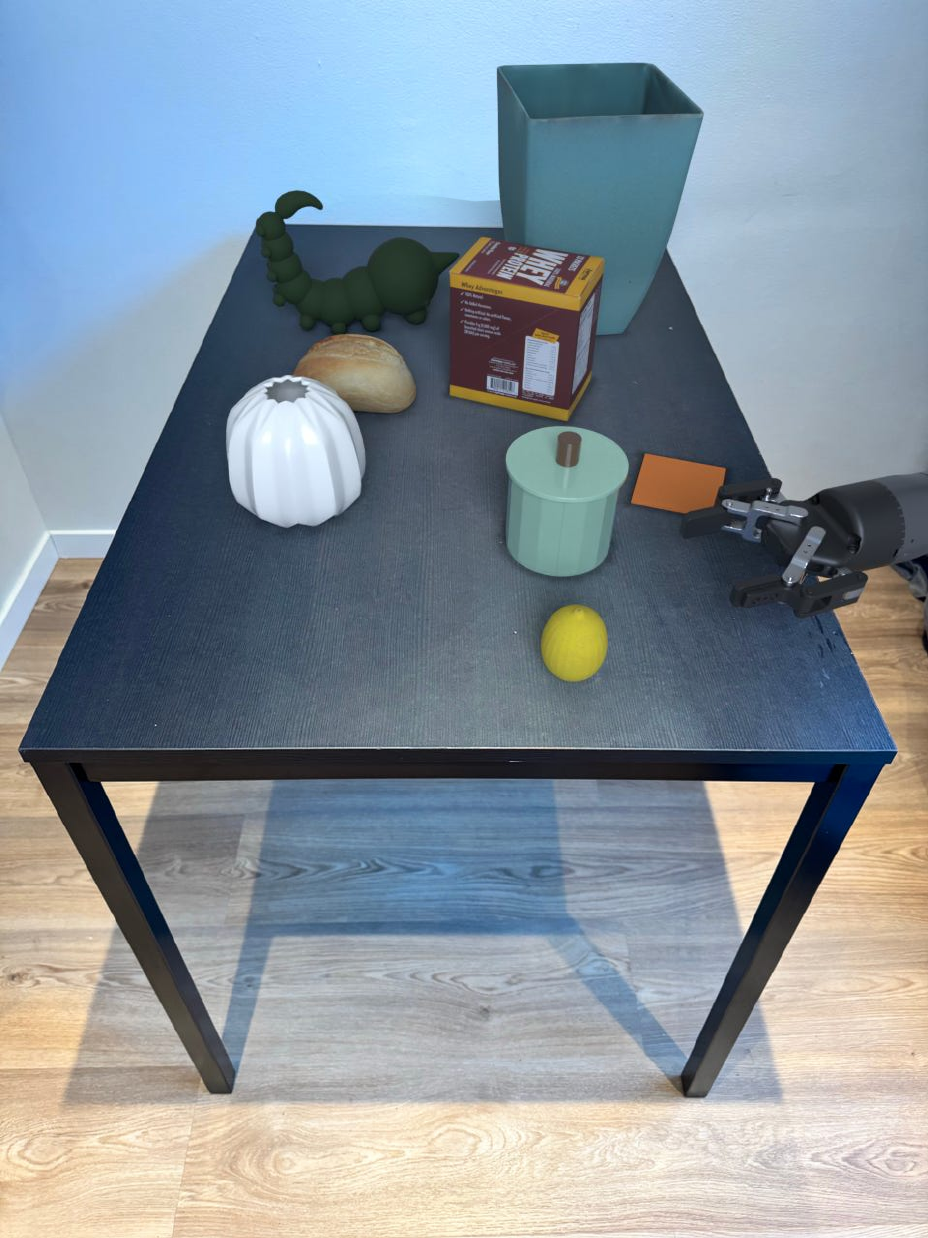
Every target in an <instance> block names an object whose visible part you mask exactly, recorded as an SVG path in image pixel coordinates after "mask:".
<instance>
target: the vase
mask: <svg viewBox="0 0 928 1238" xmlns="http://www.w3.org/2000/svg"><path fill="white" fill-rule="evenodd" d="M225 429H226V431H225V432H226V433H225V447H226V458H227V463H228V478H229V484H230V488H231V493H232V495H233V497H234V499H235V502H236V503H238V504H239V505H240V506H242V507H244V508H245V509H246V510H247V511H249V512H251V513H252V514H253V515H255V516H256V517H257V518H259V519H260V520H262V521H266V522H268V523H270V524H273V525H276V526H278V527H281V528H285V529H288V528H289V529H290V528H292V527H293V526H296V525H304V526H309V527H317V526H320V524H322V523H324V522H326V521H327V520H329V519H331V518H332V517H339V516H340V515H342V514H343V513H344V512H345V511H346V510H347V509H348V508H349V507H350V506H351V505H352V504H353V503H354V502H355V501H356V500H357V499H358V498H359V497H360V496H361V493H362V479H363V478H364V475H365V473H366V464H367V460H366V449H365V446H364V445H365V444H364V440H363V436H362V431H361V430H360V426H359V423H358V421H357V418H356V416H355V413H354V411H352V410H351V408H350V407H349V405H348V404H347V403H346V402H345V401H344V400H342V399H341V398H340V397H339V396H338V394H337V392H336V390H335V389H333V388H332V387H330V386H328V385H326V384H323V383H321V382H319V381H316V380H314V379H310V378H307V377H304V376H300V377H297V376H294V375H292V374H284V375H282V376H280V377H274V376H273V377H271V378H267V379H265V380H263V381H262V382H260V383H258V384H257V385H255V386H253V387H252V388H250V389H249V390H248V391H247V392H246V393H245V394H244V396H243V397H242V398H240V399H239V400H238V402H236V404H234V405H233V406H232V407H231V409H230V412H229V414H228V417H227V420H226V428H225Z"/></svg>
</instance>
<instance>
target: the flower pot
mask: <svg viewBox="0 0 928 1238" xmlns="http://www.w3.org/2000/svg"><path fill="white" fill-rule="evenodd" d="M496 97H497V98H496V99H497V159H498V160H497V161H498V163H497V164H498V167H497V168H498V192H499V204H500V213H501V223H502V230H503V236H504V241H507V242H513V243H519V244H524V245H530V246H535V247H540V248H546V249H553V250H559V251H565V252H571V253H577V254H583V255H590V256H597V257H601V258H604V259H605V264H604V272H603V280H602V288H601V297H600V305H599V313H598V322H597V330H596V336H610V335H621V334H623V333H624V332H625V331H626V329H627V328H628V326H629V324H630V323H631V321H632V319H633V318H634V316H635V315H636V313H637V312H638V310H639V308H640V306H641V304H642V303H643V301H644V300H645V297H646V295H647V293H648V291H649V289H650V287H651V285H652V282H653V280H654V278H655V276H656V274H657V272H658V270H659V267H660V264H661V262H662V261H663V257H664V255H665V252H666V250H667V247H668V244H669V241H670V238H671V236H672V232H673V230H674V229H673V228H674V225H675V222H676V218H677V215H678V210H679V208H680V202H681V200H682V196H683V192H684V189H685V185H686V181H687V178H688V174H689V170H690V166H691V162H692V160H693V156H694V153H695V148H696V145H697V142H698V138H699V134H700V131H701V127H702V123H703V119H704V115H705V112H704V110H703V109H702V108H701V107H700V106H699V105H697V103H696V102H695V101H693V100H692V99H691V97H689V95H687V94H686V93H685V92H684V91H683V90H682V89H681V88H680V87H679V86H677V84H675V82H674V81H672V79H670V78H669V77H668V76H667V74H665V73H664V72H663V71H662V69H660V68H659V67H658V66H657V65H655V64H654V63H651V62H601V63H600V62H595V63H591V62H590V63H549V64H504V65H499V66H497V67H496Z"/></svg>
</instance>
